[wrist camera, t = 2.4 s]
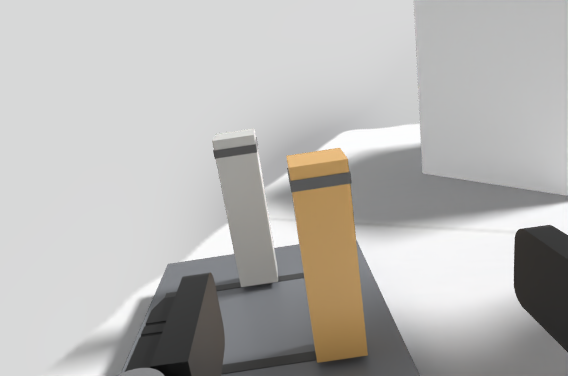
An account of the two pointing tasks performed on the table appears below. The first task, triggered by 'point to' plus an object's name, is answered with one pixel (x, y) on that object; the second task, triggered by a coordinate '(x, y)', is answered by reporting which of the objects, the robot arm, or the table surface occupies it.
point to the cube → (494, 91)
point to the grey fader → (246, 206)
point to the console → (287, 321)
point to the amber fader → (328, 252)
